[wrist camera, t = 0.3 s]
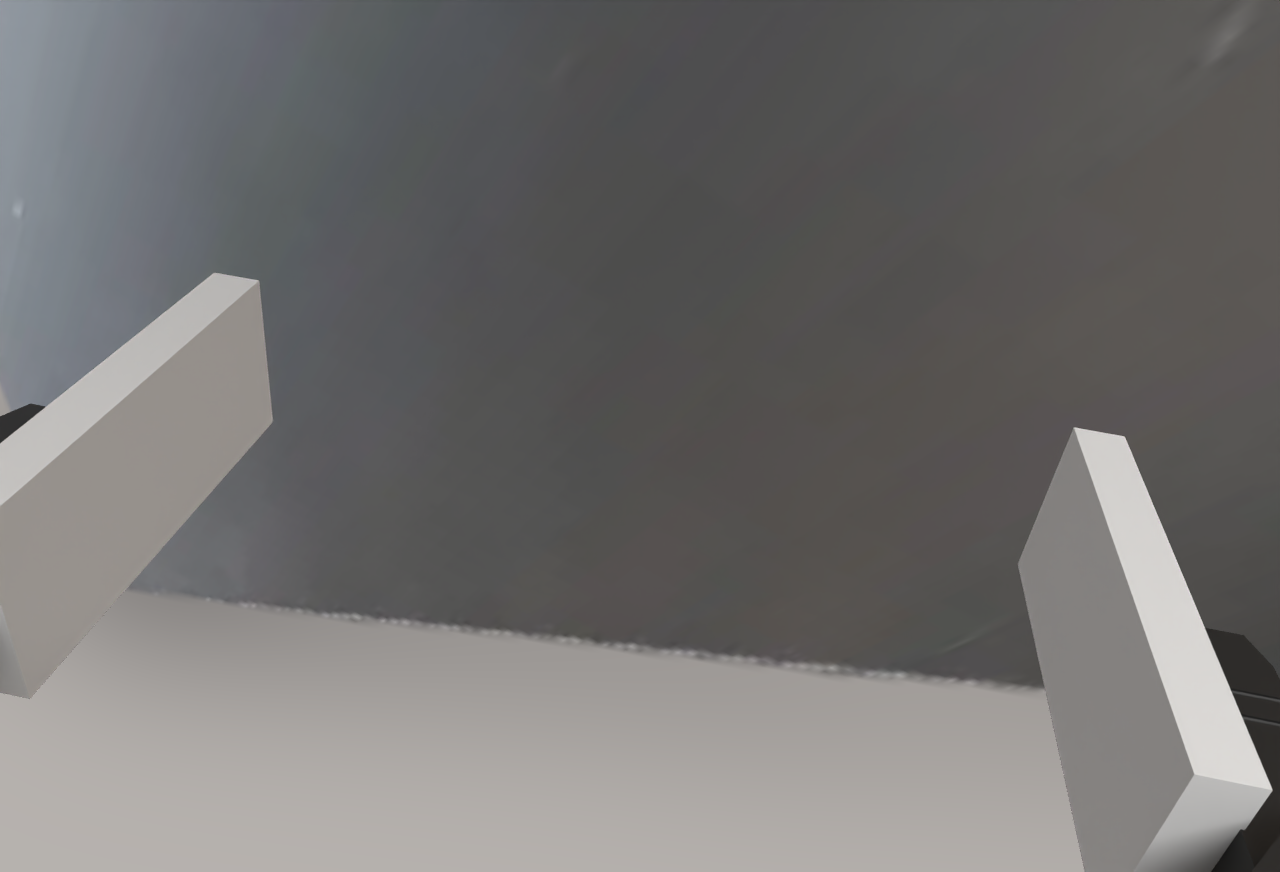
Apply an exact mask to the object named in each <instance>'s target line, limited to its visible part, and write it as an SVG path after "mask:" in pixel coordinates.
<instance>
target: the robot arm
mask: <svg viewBox="0 0 1280 872" xmlns="http://www.w3.org/2000/svg"><path fill="white" fill-rule="evenodd" d="M272 422H273V417H272V407H271V397H270V386H269V376H268V366H267V356H266V346H265V336H264V326H263V316H262V306H261V296H260V285H259V281H258V280H253V279H247V278H242V277H236V276H231V275H225V274H220V273H213V274H212V275H211V276H210V277H208V278H207V279H206V280H204V281H203V282H202V283H201V284H199V285H198V286H197V287H196V288H194V289H193V290H192V291H191V292H189V293H188V294H187V295H186V296H184V297H183V298H182V299H181V300H179V301H178V302H177V303H176V304H174V305H173V306H172V307H171V308H169V309H168V310H167V311H166V312H164V313H163V314H162V315H161V316H159V317H158V318H157V319H156V320H154V321H153V322H152V323H151V324H149V325H148V326H147V327H146V328H144V329H143V330H142V331H141V332H139V333H138V334H137V335H136V336H134V337H133V338H132V339H131V340H129V341H128V342H127V343H126V344H124V345H123V346H122V347H120V348H119V349H118V350H117V351H115V352H114V353H113V354H112V355H110V356H109V357H108V358H107V359H105V360H104V361H103V362H102V363H100V364H99V365H98V366H97V367H95V368H94V369H93V370H92V371H90V372H89V373H88V374H87V375H85V376H84V377H83V378H82V379H80V380H79V381H78V382H77V383H75V384H74V385H73V386H72V387H70V388H69V389H68V390H67V391H65V392H64V393H63V394H62V395H60V396H59V397H58V398H57V399H55V400H54V401H53V402H52V403H50V404H49V405H48V406H47V407H45V406H40V405H35V404H28V405H26V406H24V407H21V408H19V409H17V410H14V411H12V412H10V413H7V414H5V415H2V416H0V693H5V694H10V695H14V696H19V697H23V698H28V699H30V698H31V697H32V696H33V695H34V694H35V692H36V691H37V690H38V689H39V688H40V687H41V685H43V683H44V682H45V681H46V680H47V679H48V678H49V677H50V675H51V674H52V673H53V672H54V671H55V670H56V669H57V667H58V666H59V665H60V664H61V663H62V662H63V661H64V659H65V658H66V657H67V656H68V655H69V654H70V653H71V651H72V650H73V649H74V648H75V647H76V646H77V645H78V643H79V642H80V641H81V640H82V639H83V638H84V637H85V636H86V634H87V633H88V632H89V631H90V630H91V629H92V627H93V626H94V625H95V624H96V623H97V622H98V621H99V619H100V618H101V617H102V616H103V615H104V614H105V613H106V612H107V610H108V609H109V608H110V607H111V606H112V605H113V604H114V602H115V601H116V600H117V599H118V598H119V597H120V596H121V594H122V593H123V592H124V591H125V590H126V589H127V588H128V586H129V585H130V584H131V583H132V582H133V581H134V580H135V579H136V577H137V576H138V575H139V574H140V573H141V572H142V571H143V569H144V568H145V567H146V566H147V565H148V564H149V563H150V561H151V560H152V559H153V558H154V557H155V556H156V555H157V553H158V552H159V551H160V550H161V549H162V548H163V547H164V545H165V544H166V543H167V542H168V541H169V540H170V539H171V537H172V536H173V535H174V534H175V533H176V532H177V531H178V529H179V528H180V527H181V526H182V525H183V524H184V523H185V522H186V520H187V519H188V518H189V517H190V516H191V515H192V514H193V512H194V511H195V510H196V509H197V508H198V507H199V506H200V504H201V503H202V502H203V501H204V500H205V499H206V498H207V496H208V495H209V494H210V493H211V492H212V491H213V490H214V488H215V487H216V486H217V485H218V484H219V483H220V482H221V480H222V479H223V478H224V477H225V476H226V475H227V474H228V472H229V471H230V470H231V469H232V468H233V467H234V466H235V465H236V463H237V462H238V461H239V460H240V459H241V458H242V457H243V455H244V454H245V453H246V452H247V451H248V450H249V449H250V447H251V446H252V445H253V444H254V443H255V442H256V441H257V439H258V438H259V437H260V436H261V435H262V434H263V433H264V431H265V430H266V429H267V428H268V427H269V426H270V425H271V423H272ZM1018 567H1019V571H1020V576H1021V581H1022V585H1023V590H1024V594H1025V599H1026V604H1027V608H1028V613H1029V617H1030V622H1031V627H1032V631H1033V636H1034V640H1035V645H1036V650H1037V654H1038V659H1039V663H1040V668H1041V673H1042V677H1043V682H1044V686H1045V691H1046V696H1047V700H1048V705H1049V709H1050V713H1051V719H1052V723H1053V728H1054V732H1055V737H1056V741H1057V746H1058V750H1059V755H1060V760H1061V765H1062V769H1063V774H1064V778H1065V783H1066V787H1067V792H1068V797H1069V801H1070V806H1071V811H1072V815H1073V820H1074V824H1075V829H1076V834H1077V838H1078V843H1079V847H1080V852H1081V856H1082V861H1083V866H1084V870H1085V872H1280V679H1279V677H1278V675H1277V673H1276V671H1275V669H1274V667H1273V666H1272V665H1271V664H1270V663H1269V662H1268V661H1267V660H1266V659H1265V657H1264V656H1263V655H1262V654H1261V653H1260V652H1259V651H1258V650H1257V649H1256V648H1255V647H1254V646H1253V645H1252V644H1251V643H1250V642H1249V641H1248V639H1247V638H1246V637H1245V636H1244V635H1239V634H1234V633H1229V632H1224V631H1219V630H1213V629H1208V628H1205V627H1204V625H1203V623H1202V620H1201V618H1200V615H1199V613H1198V611H1197V608H1196V606H1195V604H1194V601H1193V599H1192V596H1191V594H1190V592H1189V589H1188V587H1187V584H1186V582H1185V580H1184V577H1183V575H1182V573H1181V570H1180V568H1179V565H1178V563H1177V561H1176V558H1175V556H1174V553H1173V551H1172V549H1171V546H1170V544H1169V541H1168V539H1167V537H1166V534H1165V532H1164V530H1163V527H1162V525H1161V522H1160V520H1159V518H1158V515H1157V513H1156V510H1155V508H1154V506H1153V503H1152V501H1151V498H1150V496H1149V494H1148V491H1147V489H1146V487H1145V484H1144V482H1143V479H1142V477H1141V475H1140V472H1139V470H1138V467H1137V465H1136V463H1135V460H1134V458H1133V456H1132V453H1131V451H1130V448H1129V446H1128V444H1127V441H1126V439H1125V437H1124V436H1118V435H1113V434H1107V433H1102V432H1096V431H1091V430H1085V429H1080V428H1073V431H1072V433H1071V436H1070V438H1069V441H1068V443H1067V445H1066V448H1065V450H1064V453H1063V455H1062V458H1061V460H1060V463H1059V465H1058V467H1057V470H1056V472H1055V475H1054V477H1053V480H1052V482H1051V484H1050V487H1049V489H1048V492H1047V494H1046V497H1045V499H1044V502H1043V504H1042V506H1041V509H1040V511H1039V514H1038V516H1037V519H1036V521H1035V523H1034V526H1033V528H1032V531H1031V533H1030V536H1029V538H1028V540H1027V543H1026V545H1025V548H1024V550H1023V553H1022V555H1021V558H1020V560H1019V562H1018Z"/></svg>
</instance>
